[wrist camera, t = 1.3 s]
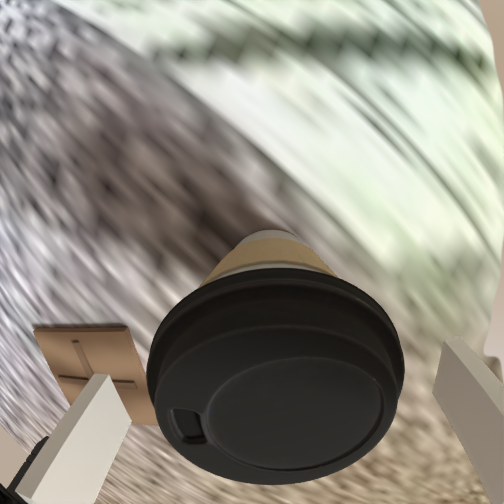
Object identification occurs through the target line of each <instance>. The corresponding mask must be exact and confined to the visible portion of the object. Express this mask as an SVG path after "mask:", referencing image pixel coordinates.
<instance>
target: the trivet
mask: <svg viewBox="0 0 504 504" xmlns="http://www.w3.org/2000/svg"><path fill="white" fill-rule="evenodd" d="M33 333H34V335H35V337H36V340H37V342H38V344H39V346H40V348H41V351H42V353H43V355H44V357H45V359H46V361H47V363H48V365H49V367H50V369H51V371H52V373H53V375H54V377H55V379H56V381H57V383H58V384H59V386H60V388H61V390H62V392H63V393H64V395H65V397H66V399H67V400H68V402H69V404H70V406H71V405H72V404H73V402H74V401H75V400H76V398H77V397H78V395H79V394H80V393H81V391H82V390H83V388H84V387H85V386H86V384H87V383H88V382H89V380H90V379H91V378H92V376H93V375H94V374H109V375H110V378H111V380H112V382H113V384H114V386H115V389H116V391H117V393H118V395H119V397H120V399H121V401H122V403H123V405H124V407H125V409H126V411H127V413H128V415H129V417H130V419H131V420H132V422H131V423H132V424H142V425H155V426H159V425H158V422H157V419H156V414H155V409H154V407H153V405H152V402H151V399H150V396H149V393H148V388H147V380H146V374H145V371H144V369H143V366H142V364H141V361H140V359H139V356H138V353H137V351H136V348H135V345H134V343H133V340H132V337H131V334H130V331H129V328H128V327H111V328H36V329H35V330H34V331H33Z"/></svg>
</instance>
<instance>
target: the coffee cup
mask: <svg viewBox="0 0 504 504" xmlns="http://www.w3.org/2000/svg"><path fill="white" fill-rule="evenodd" d="M404 373H405V366H404V357H403V352H402V349H401V345H400V341H399V337H398V334H397V331H396V329H395V327H394V325H393V323H392V321H391V319H390V318H389V316H388V315H387V313H386V312H385V311H384V309H383V308H382V307H381V306H380V305H379V304H378V303H377V302H376V301H375V300H374V299H373V298H372V297H370V296H369V295H368V294H367V293H365V292H364V291H362V290H361V289H359V288H358V287H356V286H354V285H352V284H350V283H348V282H346V281H344V280H342V279H339V278H338V277H337V276H336V275H335V274H334V272H333V271H332V270H331V269H330V268H329V267H328V266H327V265H326V264H325V263H324V262H323V261H322V260H321V259H320V257H319V256H318V255H317V254H316V253H315V252H314V251H313V250H312V249H310V248H308V247H307V246H305V245H304V244H303V243H302V242H301V241H300V240H299V239H298V238H297V237H296V236H294V235H292V234H291V233H288V232H285V231H281V230H263V231H258V232H255V233H253V234H250V235H249V236H247V237H245V238H244V239H243V240H242V241H241V242H240V243H239V244H238V245H237V246H236V247H235V248H234V249H233V250H232V251H230V252H229V253H228V254H227V255H226V256H225V257H224V258H223V259H222V260H221V261H220V262H219V264H218V265H217V266H216V267H215V268H214V270H213V271H212V272H211V273H210V274H209V276H208V277H207V278H206V279H205V280H204V282H203V283H202V284H201V285H200V286H199V288H198V289H196V290H195V291H193V292H192V293H190V294H189V295H188V296H186V297H185V298H184V299H182V300H181V301H180V302H179V303H178V304H176V306H175V307H174V308H173V309H172V310H171V311H170V312H169V313H168V314H167V315H166V317H165V318H164V319H163V321H162V322H161V324H160V326H159V327H158V329H157V331H156V334H155V336H154V338H153V341H152V344H151V348H150V354H149V358H148V363H147V370H146V380H147V388H148V393H149V396H150V399H151V402H152V405H153V407H154V409H155V414H156V419H157V422H158V425H159V427H160V429H161V431H162V433H163V435H164V436H165V438H166V439H167V440H168V442H169V443H170V444H171V445H172V446H173V448H174V449H175V450H176V451H177V452H179V453H180V454H181V455H182V456H183V457H185V458H186V459H187V460H189V461H190V462H192V463H193V464H195V465H196V466H198V467H200V468H202V469H204V470H206V471H208V472H210V473H213V474H215V475H218V476H220V477H223V478H227V479H230V480H234V481H239V482H244V483H250V484H260V485H285V484H294V483H301V482H306V481H311V480H315V479H318V478H321V477H325V476H328V475H330V474H333V473H335V472H337V471H340V470H342V469H344V468H346V467H348V466H350V465H351V464H353V463H355V462H356V461H358V460H359V459H361V458H362V457H363V456H365V455H366V454H367V453H368V452H370V451H371V450H372V449H373V448H374V447H375V446H376V445H377V444H378V443H379V442H380V440H381V439H382V438H383V437H384V435H385V434H386V432H387V431H388V429H389V428H390V426H391V424H392V422H393V419H394V416H395V413H396V409H397V403H398V399H399V396H400V393H401V390H402V386H403V381H404Z"/></svg>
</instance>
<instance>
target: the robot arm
mask: <svg viewBox="0 0 504 504" xmlns="http://www.w3.org/2000/svg"><path fill="white" fill-rule="evenodd" d="M432 393H433V395H434V396H435V398H436V400H437V401H438V403H439V405H440V406H441V408H442V410H443V412H444V413H445V415H446V417H447V419H448V420H449V422H450V424H451V426H452V427H453V429H454V431H455V433H456V435H457V436H458V438H459V440H460V442H461V444H462V446H463V447H464V449H465V451H466V453H467V455H468V457H469V459H470V461H471V463H472V465H473V467H474V468H475V470H476V472H477V474H478V476H479V478H480V480H481V483H482V485H483V487H484V489H485V491H486V493H487V495H488V497H489V499H490V501H491V504H504V386H503V384H502V383H501V382H500V381H499V380H498V378H497V377H496V376H495V375H494V374H493V373H492V371H491V370H490V369H489V368H488V367H487V366H486V364H485V363H484V362H483V361H482V360H481V359H480V358H479V357H478V355H477V354H476V353H475V352H474V351H473V350H472V349H471V348H470V347H469V346H468V344H467V343H466V342H465V341H464V340H463V339H462V338H461V337H460V336H456V337H453V338H449V339H446V340H444V342H443V347H442V352H441V357H440V362H439V367H438V371H437V375H436V380H435V384H434V388H433V392H432ZM131 422H132V420H131V419H130V417H129V415H128V413H127V411H126V409H125V407H124V405H123V403H122V401H121V399H120V397H119V395H118V393H117V391H116V389H115V386H114V384H113V382H112V380H111V378H110V375H109V374H94V375H93V376H92V378H91V379H90V380H89V382H88V383H87V384H86V386H85V387H84V388H83V390H82V391H81V393H80V394H79V395H78V397H77V398H76V400H75V401H74V402H73V404H72V405H71V407H70V408H69V410H68V411H67V412H66V414H65V415H64V417H63V418H62V420H61V421H60V422H59V424H58V425H57V427H56V428H55V430H54V431H53V433H52V434H51V436H50V437H49V436H46V437H45V438H43V439H42V440H41V441H39V442H38V443H37V444H36V446H35V447H34V449H33V450H32V452H31V455H29V456H28V458H27V459H26V462H24V464H23V465H22V467H21V468H20V470H19V471H18V473H17V474H16V476H15V477H14V479H13V480H12V482H11V484H10V485H9V486H8V488H7V489H5V487H3V485H2V484H1V483H0V504H94V502H95V500H96V498H97V496H98V493H99V491H100V489H101V487H102V484H103V482H104V480H105V478H106V476H107V473H108V471H109V469H110V467H111V465H112V462H113V460H114V458H115V456H116V454H117V452H118V450H119V447H120V445H121V443H122V441H123V439H124V437H125V435H126V433H127V430H128V428H129V426H130V424H131Z"/></svg>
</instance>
